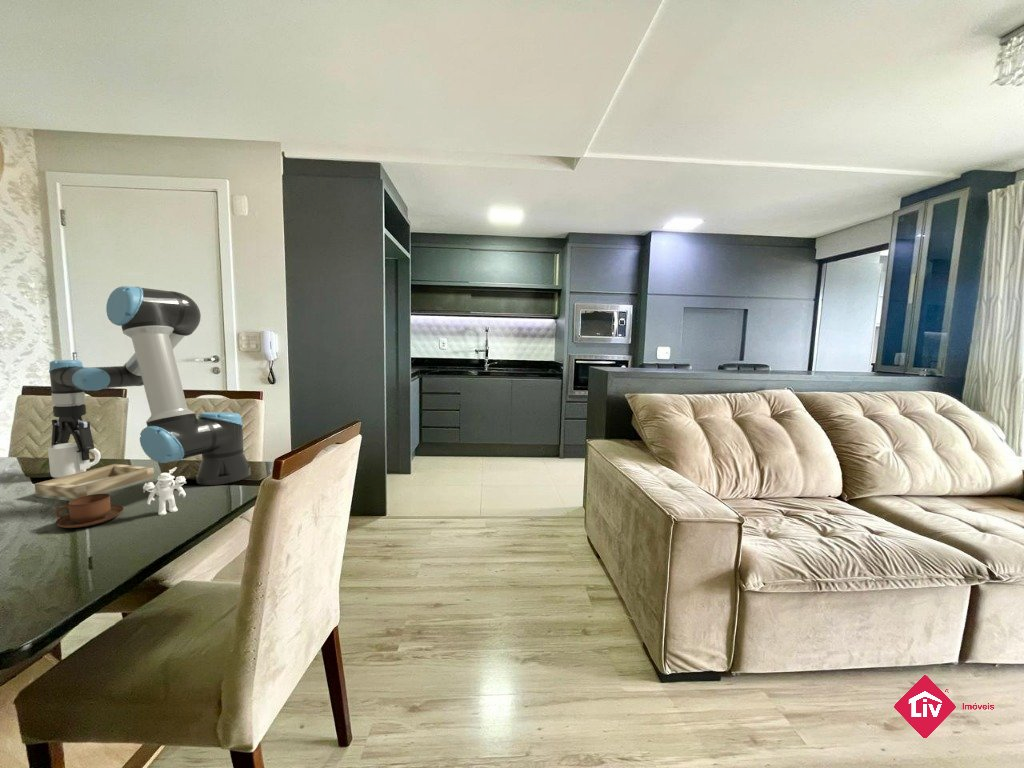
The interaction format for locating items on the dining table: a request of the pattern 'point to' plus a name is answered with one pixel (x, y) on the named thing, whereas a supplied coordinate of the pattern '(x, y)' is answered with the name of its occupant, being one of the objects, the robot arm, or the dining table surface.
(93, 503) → the cup and saucer
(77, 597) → the dining table surface
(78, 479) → the board
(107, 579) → the dining table surface
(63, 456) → the mug
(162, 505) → the white toy figurine
